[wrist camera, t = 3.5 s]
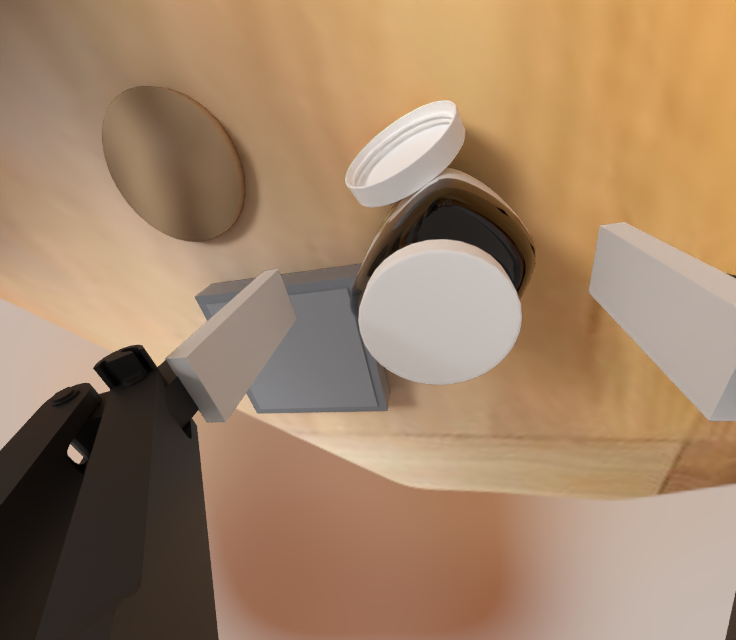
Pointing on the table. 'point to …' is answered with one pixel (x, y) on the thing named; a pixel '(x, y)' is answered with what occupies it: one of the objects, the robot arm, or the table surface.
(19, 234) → the table surface
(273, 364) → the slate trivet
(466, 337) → the spread jar
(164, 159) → the oak coaster
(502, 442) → the table surface
